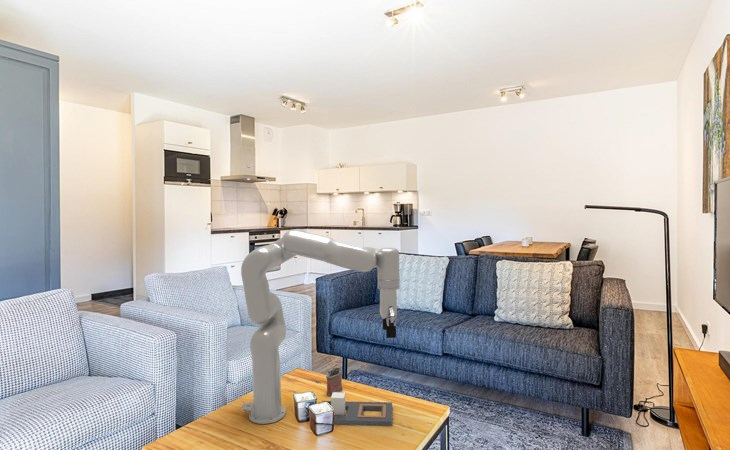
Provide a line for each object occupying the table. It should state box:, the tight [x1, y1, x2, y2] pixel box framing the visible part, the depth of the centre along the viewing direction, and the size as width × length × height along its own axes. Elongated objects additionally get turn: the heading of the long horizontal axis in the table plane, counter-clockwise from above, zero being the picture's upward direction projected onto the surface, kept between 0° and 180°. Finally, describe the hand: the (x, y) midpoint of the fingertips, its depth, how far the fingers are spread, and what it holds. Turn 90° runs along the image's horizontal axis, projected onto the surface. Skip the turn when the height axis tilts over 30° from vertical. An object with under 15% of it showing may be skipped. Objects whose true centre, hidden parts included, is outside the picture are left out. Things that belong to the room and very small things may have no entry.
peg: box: [330, 391, 346, 415], centre depth 147 cm, size 4×4×7 cm
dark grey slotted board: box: [321, 400, 393, 427], centre depth 147 cm, size 26×14×2 cm, turn 86°
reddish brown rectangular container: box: [325, 365, 343, 397], centre depth 165 cm, size 8×3×10 cm, turn 144°
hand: (389, 333), depth 143 cm, fingers open, 9 cm apart
